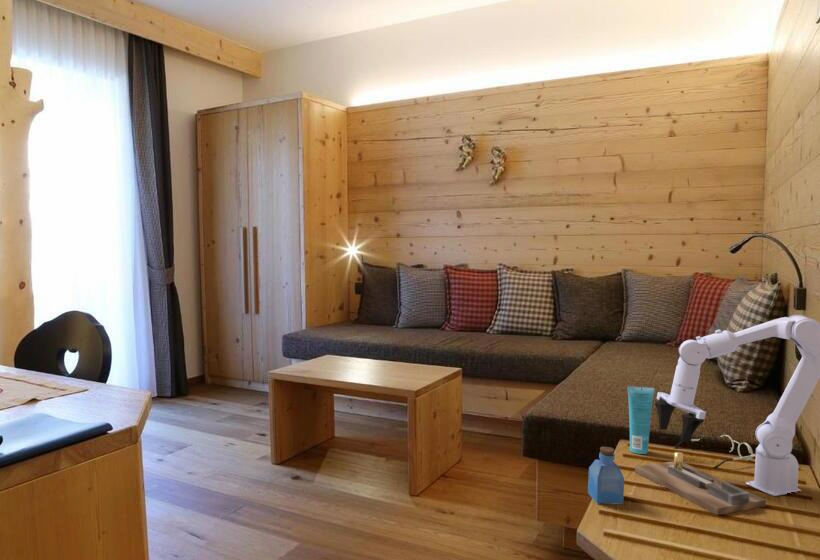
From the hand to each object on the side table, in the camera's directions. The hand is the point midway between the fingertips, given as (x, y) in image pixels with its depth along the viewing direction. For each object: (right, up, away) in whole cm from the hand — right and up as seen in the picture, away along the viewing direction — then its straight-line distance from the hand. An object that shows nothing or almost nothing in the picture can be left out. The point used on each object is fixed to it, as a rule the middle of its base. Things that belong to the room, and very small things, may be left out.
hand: (673, 434), depth 153 cm
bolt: (+1, -9, -6) cm, 11 cm away
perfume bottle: (-23, -11, -15) cm, 30 cm away
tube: (-2, -10, +18) cm, 20 cm away
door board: (+2, -11, -8) cm, 14 cm away
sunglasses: (+19, -11, +15) cm, 26 cm away
